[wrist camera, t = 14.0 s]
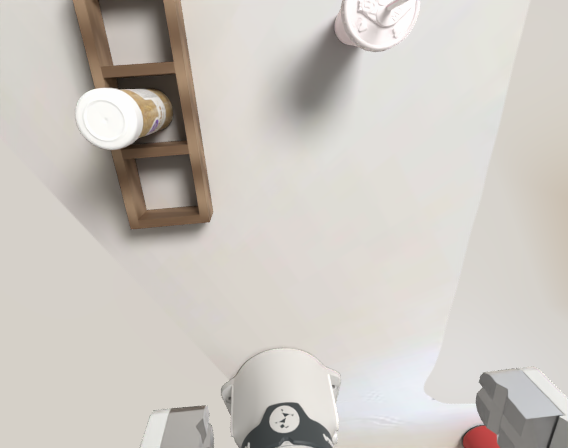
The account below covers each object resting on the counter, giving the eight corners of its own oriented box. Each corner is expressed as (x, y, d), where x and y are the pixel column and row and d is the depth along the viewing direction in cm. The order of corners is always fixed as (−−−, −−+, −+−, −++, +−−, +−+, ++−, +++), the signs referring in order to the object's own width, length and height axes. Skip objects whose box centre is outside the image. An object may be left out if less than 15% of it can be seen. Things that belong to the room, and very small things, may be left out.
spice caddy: (213, 211, 43) (209, 223, 40) (137, 218, 43) (126, 230, 40) (176, -27, 34) (167, -40, 31) (78, -21, 34) (57, -34, 30)
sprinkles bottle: (167, 136, 40) (128, 159, 27) (127, 121, 39) (67, 138, 26) (178, 96, 38) (142, 102, 26) (137, 80, 37) (78, 77, 25)
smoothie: (377, 59, 38) (439, 46, 25) (320, 58, 38) (354, 44, 25) (384, -9, 36) (457, -61, 23) (323, -11, 36) (363, -66, 23)
